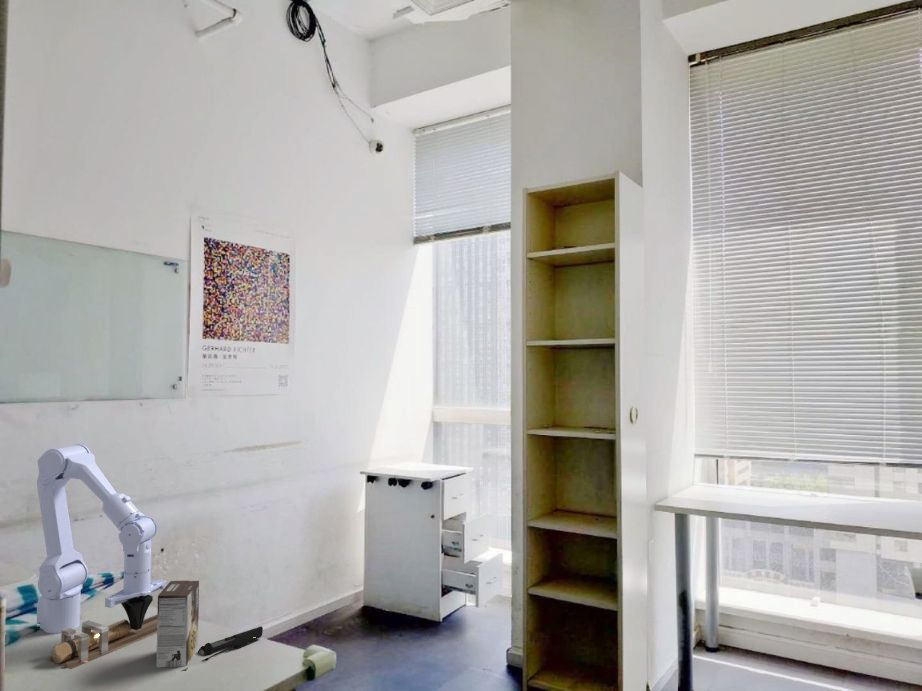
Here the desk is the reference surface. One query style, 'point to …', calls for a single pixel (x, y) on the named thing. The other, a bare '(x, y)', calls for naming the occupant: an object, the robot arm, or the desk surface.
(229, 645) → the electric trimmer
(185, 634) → the coffee box
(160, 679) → the desk surface
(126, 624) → the thermos bottle
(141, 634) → the board
